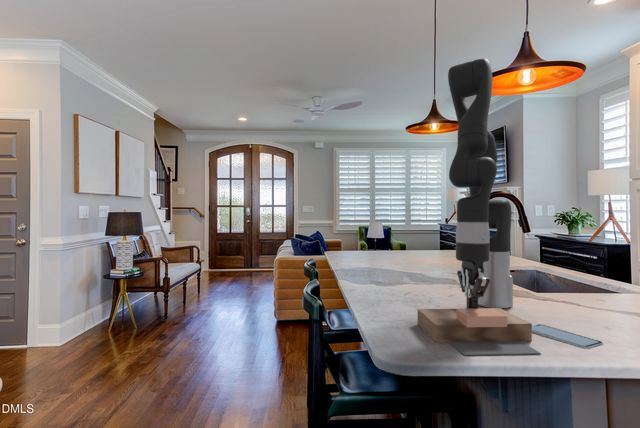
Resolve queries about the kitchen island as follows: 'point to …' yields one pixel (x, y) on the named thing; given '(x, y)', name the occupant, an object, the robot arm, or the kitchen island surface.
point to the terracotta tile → (481, 317)
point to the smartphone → (565, 336)
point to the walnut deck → (470, 328)
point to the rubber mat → (494, 348)
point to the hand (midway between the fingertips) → (472, 312)
